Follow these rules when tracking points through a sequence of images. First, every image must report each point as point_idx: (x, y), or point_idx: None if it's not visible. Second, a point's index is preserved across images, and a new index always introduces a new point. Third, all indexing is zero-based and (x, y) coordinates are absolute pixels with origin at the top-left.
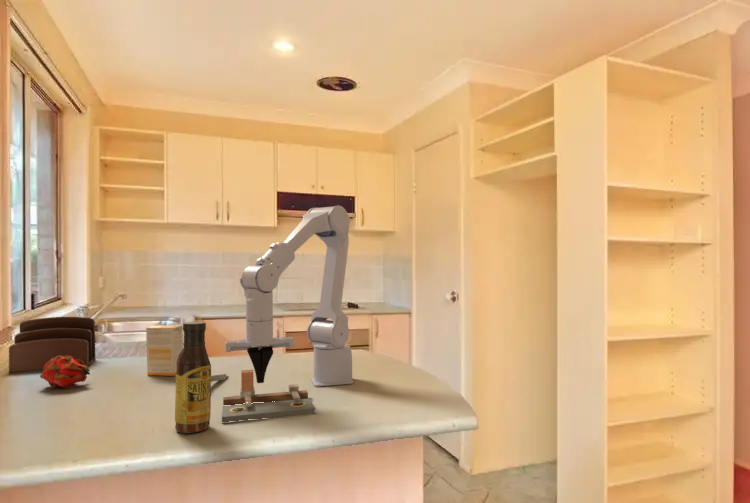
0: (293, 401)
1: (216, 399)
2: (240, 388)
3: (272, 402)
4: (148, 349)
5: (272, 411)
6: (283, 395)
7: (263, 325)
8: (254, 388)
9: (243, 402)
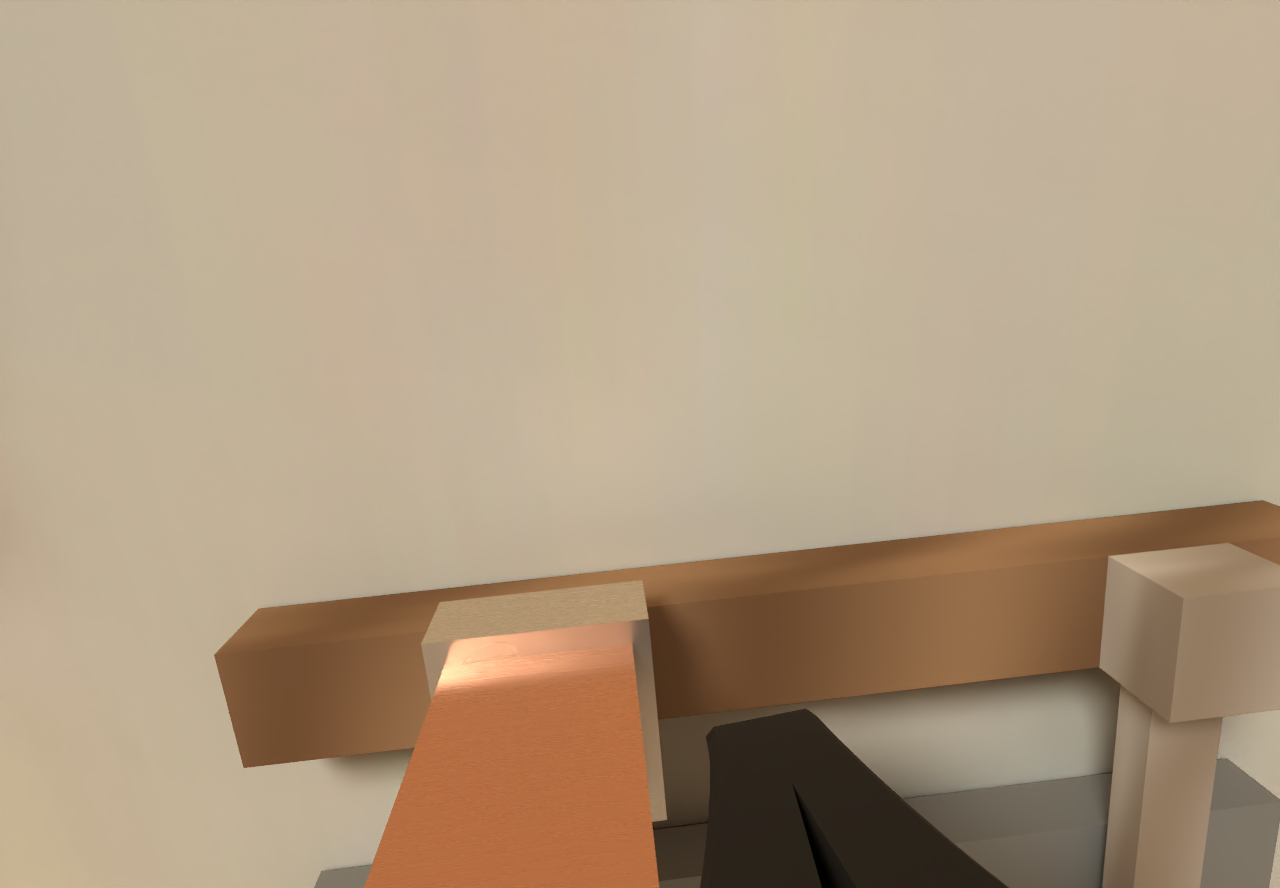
0: (1087, 876)
1: (96, 375)
2: (427, 664)
3: None
4: None
5: None
6: (1015, 671)
7: None
8: (655, 699)
9: None
